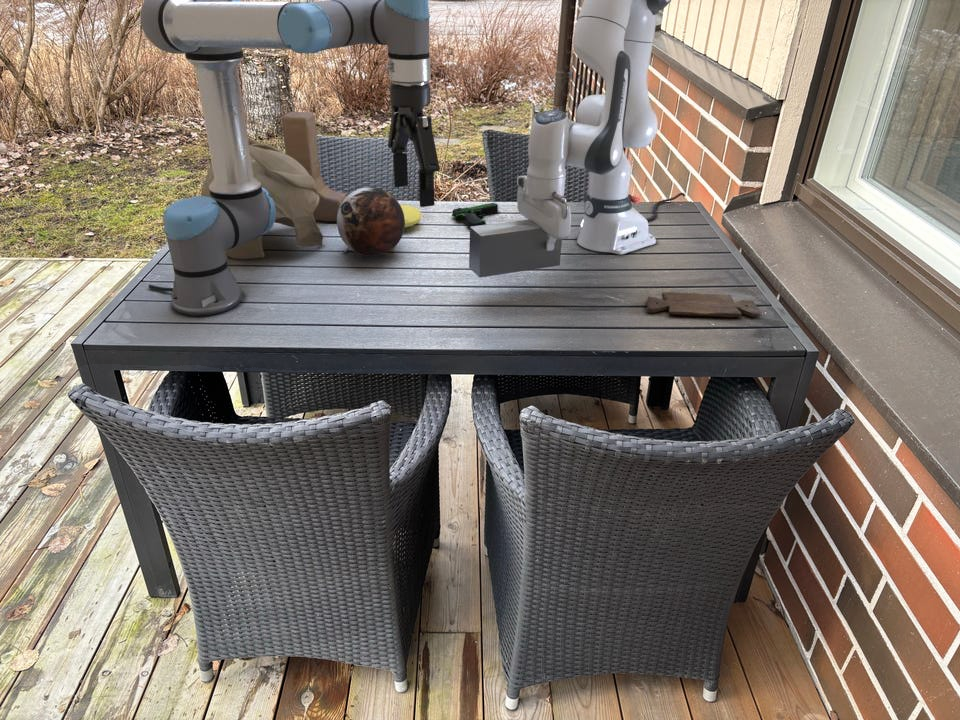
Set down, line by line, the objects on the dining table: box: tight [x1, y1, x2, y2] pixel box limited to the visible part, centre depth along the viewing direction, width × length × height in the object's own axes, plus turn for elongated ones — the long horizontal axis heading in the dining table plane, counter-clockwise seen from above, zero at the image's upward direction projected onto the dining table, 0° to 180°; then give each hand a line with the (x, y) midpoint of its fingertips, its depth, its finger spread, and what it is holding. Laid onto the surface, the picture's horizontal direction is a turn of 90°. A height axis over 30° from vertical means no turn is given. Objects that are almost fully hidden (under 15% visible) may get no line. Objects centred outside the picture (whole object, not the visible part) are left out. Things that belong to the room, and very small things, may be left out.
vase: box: [400, 204, 423, 229], centre depth 210 cm, size 16×16×7 cm
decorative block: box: [280, 111, 348, 223], centre depth 209 cm, size 8×15×30 cm, turn 82°
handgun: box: [451, 202, 499, 229], centre depth 216 cm, size 16×3×15 cm
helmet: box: [200, 137, 324, 260], centre depth 189 cm, size 27×30×30 cm
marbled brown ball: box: [336, 186, 406, 257], centre depth 189 cm, size 22×18×20 cm
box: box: [468, 219, 563, 278], centre depth 167 cm, size 21×6×10 cm, turn 113°
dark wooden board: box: [646, 291, 762, 318], centre depth 167 cm, size 26×2×10 cm
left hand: (413, 195), depth 142 cm, fingers open, 13 cm apart
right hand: (541, 243), depth 169 cm, fingers closed on box, 6 cm apart
